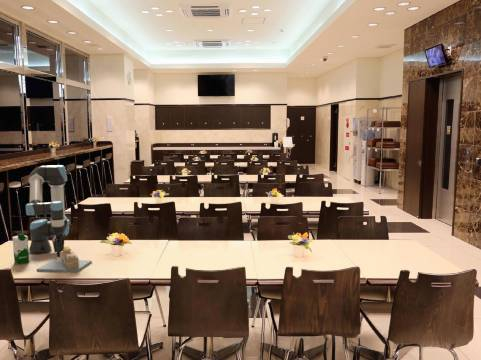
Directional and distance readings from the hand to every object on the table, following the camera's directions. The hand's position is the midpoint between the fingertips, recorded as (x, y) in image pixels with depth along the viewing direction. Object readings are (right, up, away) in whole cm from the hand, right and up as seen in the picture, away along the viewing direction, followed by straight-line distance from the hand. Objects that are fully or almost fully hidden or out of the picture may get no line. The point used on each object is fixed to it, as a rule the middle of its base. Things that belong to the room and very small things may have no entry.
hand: (59, 261), depth 293 cm
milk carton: (-33, -4, +17) cm, 37 cm away
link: (+5, -3, +5) cm, 8 cm away
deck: (+1, -5, +7) cm, 8 cm away
